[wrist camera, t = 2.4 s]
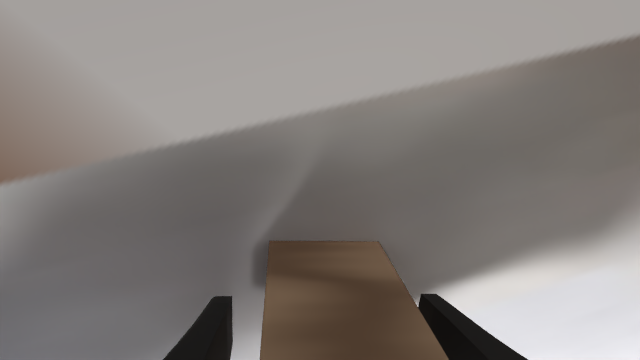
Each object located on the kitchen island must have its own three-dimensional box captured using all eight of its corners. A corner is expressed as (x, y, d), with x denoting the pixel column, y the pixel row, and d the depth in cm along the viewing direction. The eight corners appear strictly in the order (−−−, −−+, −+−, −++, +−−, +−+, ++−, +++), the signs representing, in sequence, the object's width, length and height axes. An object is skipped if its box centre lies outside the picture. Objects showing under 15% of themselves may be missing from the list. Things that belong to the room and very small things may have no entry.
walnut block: (267, 331, 14) (256, 507, 8) (269, 240, 12) (258, 375, 7) (365, 328, 14) (420, 491, 9) (378, 241, 13) (452, 365, 7)
